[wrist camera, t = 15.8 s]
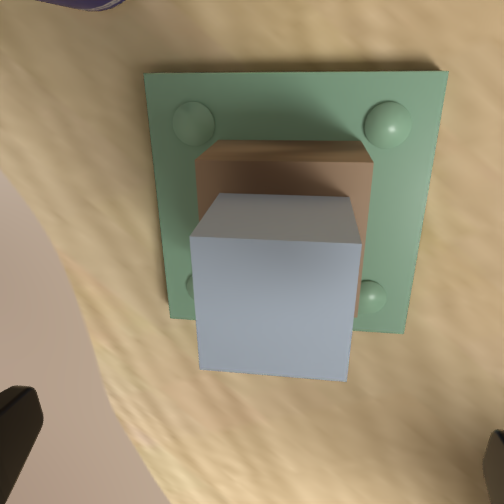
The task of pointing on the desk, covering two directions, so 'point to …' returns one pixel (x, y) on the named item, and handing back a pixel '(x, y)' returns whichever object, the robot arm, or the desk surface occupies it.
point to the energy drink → (86, 4)
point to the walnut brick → (289, 174)
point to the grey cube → (276, 285)
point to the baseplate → (303, 128)
